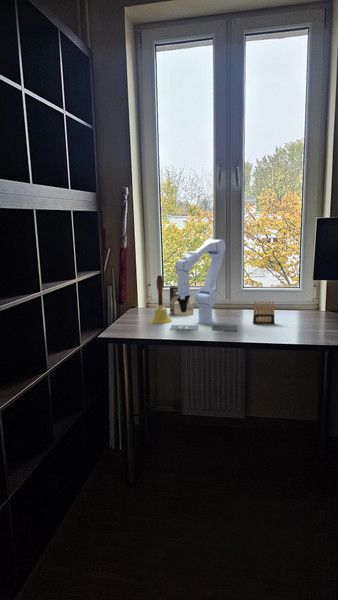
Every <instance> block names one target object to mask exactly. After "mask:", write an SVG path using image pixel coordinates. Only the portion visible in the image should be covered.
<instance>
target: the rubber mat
mask: <svg viewBox="0 0 338 600" xmlns="http://www.w3.org/2000/svg"><path fill="white" fill-rule="evenodd" d="M211 331H212V332H213V331H215V332H217V331H218V332H221V331H222V332H238V327H237V325H227V324H226V325H216V324H214V325H213V324H212V329H211Z"/></svg>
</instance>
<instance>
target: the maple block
mask: <svg viewBox="0 0 338 600" xmlns="http://www.w3.org/2000/svg"><path fill="white" fill-rule="evenodd" d="M174 314H175V315H174V316H176V317H177V316H185V317H186V316H187V317H188V316H191V317H192V316H193V315H194V301H188V302H187V308H186V312H181V308H180V304H179V302H175V303H174Z"/></svg>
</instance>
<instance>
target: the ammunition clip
mask: <svg viewBox="0 0 338 600" xmlns="http://www.w3.org/2000/svg"><path fill="white" fill-rule="evenodd" d="M252 319H253V320H252V324H253V325H275V324H276V322H275V302H274V300H272V301H270V300H268V302H267V300H265V301H264V300H262V301H261V302H260V301H259V300H258V302H257V301H256V300H255V301H254V304H253V318H252Z"/></svg>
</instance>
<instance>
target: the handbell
mask: <svg viewBox="0 0 338 600" xmlns="http://www.w3.org/2000/svg"><path fill="white" fill-rule="evenodd" d="M163 289H164V279H163V276H162V274H161V275H160V274H158V275H157V277H156V290H157V299H158V304H157V307H156V308H155V309H154V315H153V317H152V318H151V319H150V320H149V323H151V324H155V325H157V324H158V325H163V324H169V323H172V322H173V320H172V318H170V317H169V316H168V311H167V310H168V309H167V308H166V306H165V307H164V306H163V291H164V290H163Z"/></svg>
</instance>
